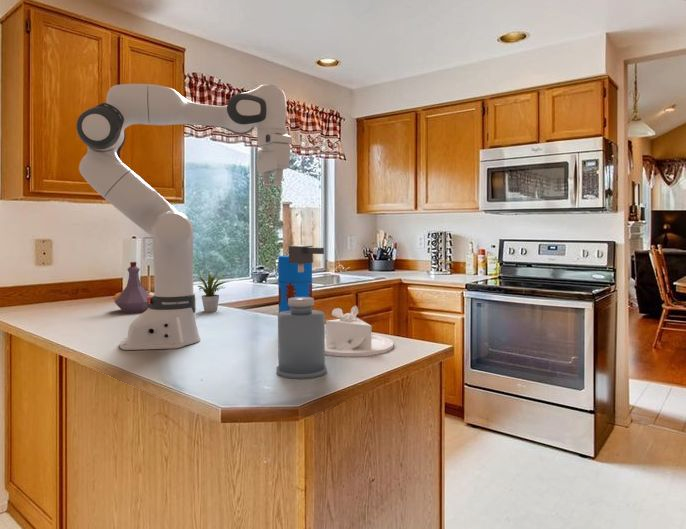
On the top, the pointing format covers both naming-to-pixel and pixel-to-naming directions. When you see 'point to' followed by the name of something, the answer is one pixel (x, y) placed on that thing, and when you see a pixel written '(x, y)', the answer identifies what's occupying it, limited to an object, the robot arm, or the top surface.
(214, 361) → the top surface
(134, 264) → the flask
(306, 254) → the pump head
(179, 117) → the robot arm
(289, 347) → the dispenser
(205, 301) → the house plant
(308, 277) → the thermos
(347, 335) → the dish
